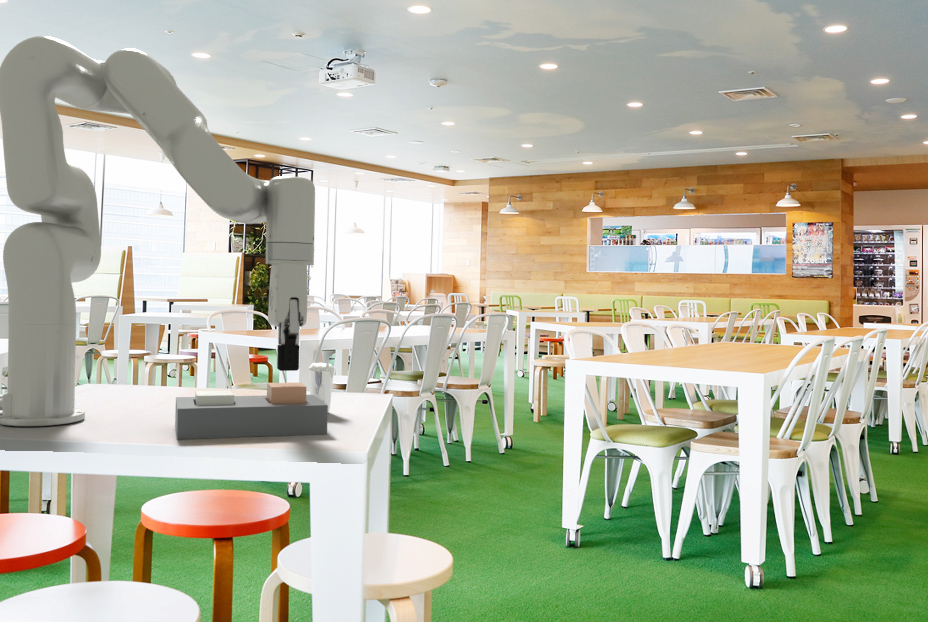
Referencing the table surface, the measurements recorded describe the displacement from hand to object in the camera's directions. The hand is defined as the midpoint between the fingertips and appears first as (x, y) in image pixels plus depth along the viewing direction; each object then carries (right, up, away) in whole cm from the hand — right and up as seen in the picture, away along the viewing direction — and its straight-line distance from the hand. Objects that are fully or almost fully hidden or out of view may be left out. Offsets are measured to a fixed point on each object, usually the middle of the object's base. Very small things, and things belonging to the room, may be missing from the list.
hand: (287, 369), depth 127 cm
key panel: (-6, -9, -2) cm, 11 cm away
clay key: (0, -6, 0) cm, 6 cm away
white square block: (-11, -7, -4) cm, 13 cm away
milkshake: (+2, -9, +16) cm, 19 cm away
